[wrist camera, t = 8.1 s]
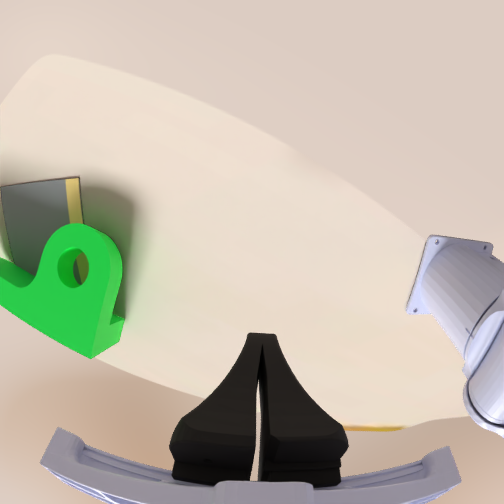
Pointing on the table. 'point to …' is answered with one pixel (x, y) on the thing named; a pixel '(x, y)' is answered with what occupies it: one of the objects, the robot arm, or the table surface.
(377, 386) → the table surface
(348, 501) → the robot arm
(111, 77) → the table surface
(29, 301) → the bracket
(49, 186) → the mat
